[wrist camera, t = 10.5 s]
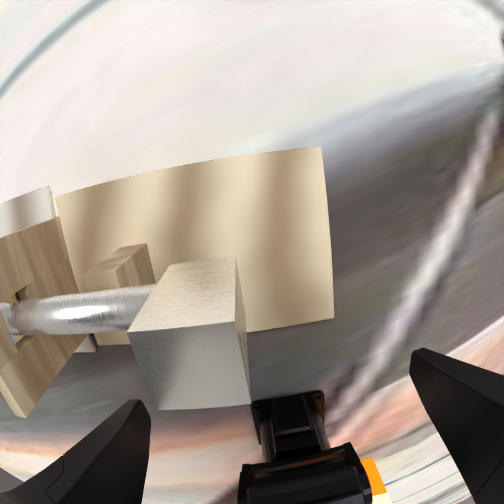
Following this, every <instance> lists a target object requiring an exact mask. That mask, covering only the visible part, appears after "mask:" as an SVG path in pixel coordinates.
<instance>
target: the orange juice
mask: <svg viewBox="0 0 504 504" xmlns="http://www.w3.org/2000/svg"><path fill="white" fill-rule="evenodd" d="M361 463H362V465H363V467H364V468H365V470H366V473H367V475H368V478H369V481H370V485H371V490H372V496H373V502H372V504H392V502H391V500H390V497H389V495H388V492H387V491H386V489H385V486H384V484H383V482H382V479H381V477H380V474H379V472H378V470H377V467H376V465H375V463H374V460H373V458H372V459H366V460H361Z"/></svg>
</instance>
